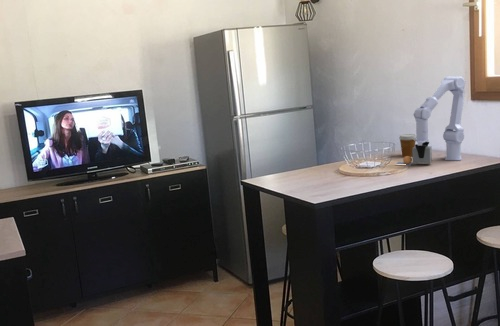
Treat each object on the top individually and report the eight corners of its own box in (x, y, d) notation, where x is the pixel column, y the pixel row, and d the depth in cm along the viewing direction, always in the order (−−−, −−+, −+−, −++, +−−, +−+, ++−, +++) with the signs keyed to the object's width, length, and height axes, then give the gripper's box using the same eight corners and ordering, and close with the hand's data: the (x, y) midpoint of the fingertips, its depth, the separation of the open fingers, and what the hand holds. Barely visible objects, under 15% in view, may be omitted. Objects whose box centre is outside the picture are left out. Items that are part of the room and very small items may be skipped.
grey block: (414, 160, 284) (414, 146, 283) (431, 160, 280) (431, 146, 279) (412, 162, 279) (412, 148, 278) (430, 163, 275) (429, 148, 274)
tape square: (398, 162, 290) (397, 161, 290) (413, 162, 286) (413, 162, 286) (394, 165, 283) (394, 165, 283) (410, 165, 279) (410, 165, 279)
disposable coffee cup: (395, 156, 307) (395, 135, 304) (408, 153, 311) (408, 133, 308) (407, 158, 298) (406, 137, 296) (420, 156, 302) (420, 135, 300)
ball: (413, 157, 283) (410, 164, 285) (405, 154, 285) (402, 161, 286) (412, 158, 280) (409, 166, 281) (404, 155, 281) (401, 163, 282)
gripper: (416, 129, 285) (416, 154, 287) (411, 133, 272) (411, 159, 275) (430, 129, 282) (430, 154, 284) (425, 133, 269) (426, 159, 272)
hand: (422, 156), depth 279 cm, fingers closed on grey block, 6 cm apart
